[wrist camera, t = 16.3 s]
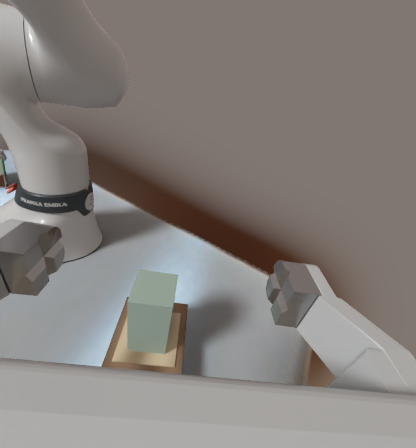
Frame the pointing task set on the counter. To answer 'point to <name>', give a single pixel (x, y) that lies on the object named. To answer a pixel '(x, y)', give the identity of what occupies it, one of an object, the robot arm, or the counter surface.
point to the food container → (3, 170)
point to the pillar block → (150, 311)
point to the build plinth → (144, 360)
